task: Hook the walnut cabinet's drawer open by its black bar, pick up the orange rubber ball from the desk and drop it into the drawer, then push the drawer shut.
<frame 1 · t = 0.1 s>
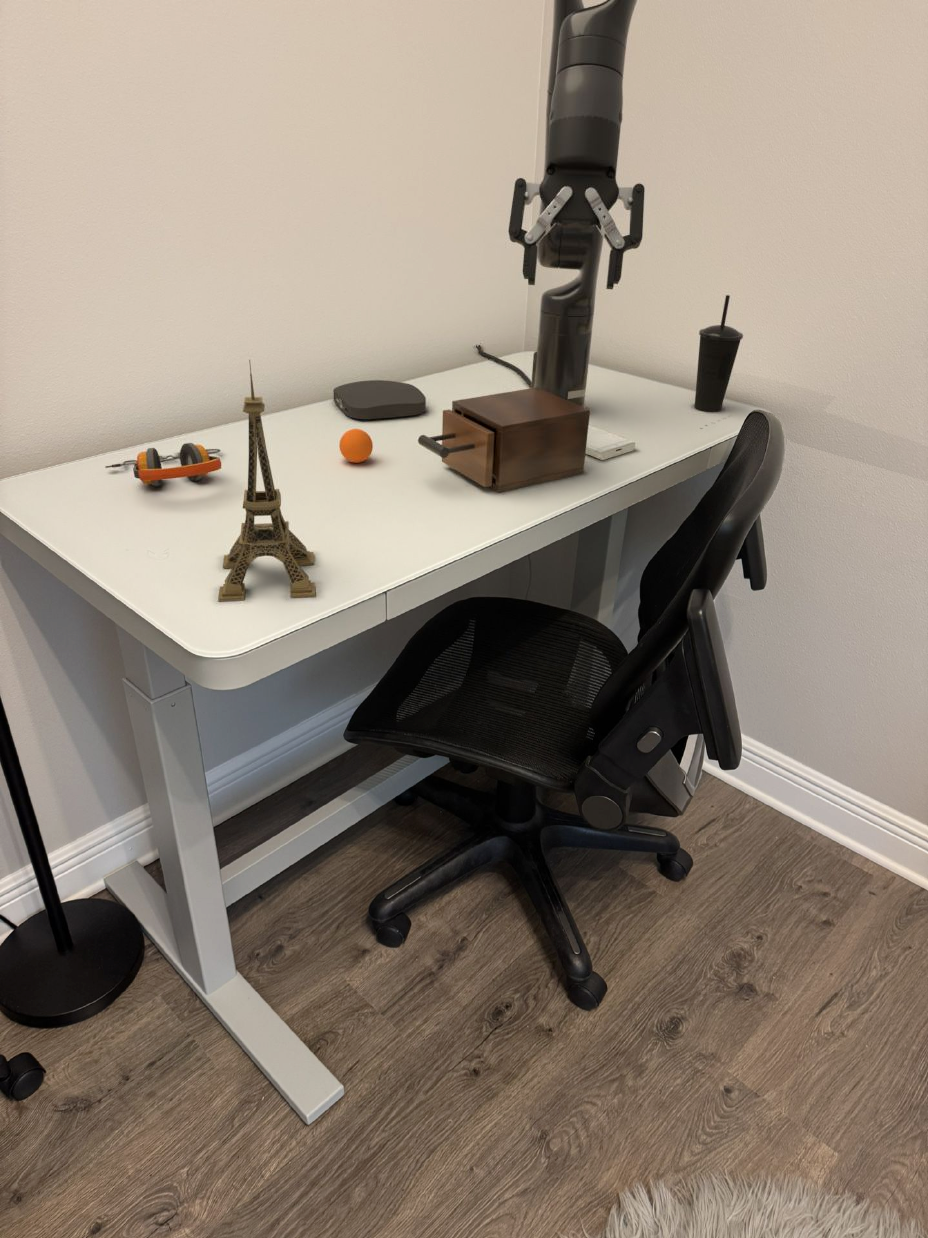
hand: (570, 285, 97), 31 cm above the table, tool tilted 20°, fingers open, 8 cm apart
cabinet: (516, 468, 136), on the table
media streaming box: (379, 407, 160), on the table
hard drive: (589, 445, 146), on the table
drinking cup: (707, 408, 166), on the table
eiffel tower: (268, 577, 104), on the table
headphones: (174, 480, 128), on the table
ball: (356, 445, 135), point 2 cm above the table
drawer: (488, 443, 131), point 5 cm above the table, slide at 0.8 cm
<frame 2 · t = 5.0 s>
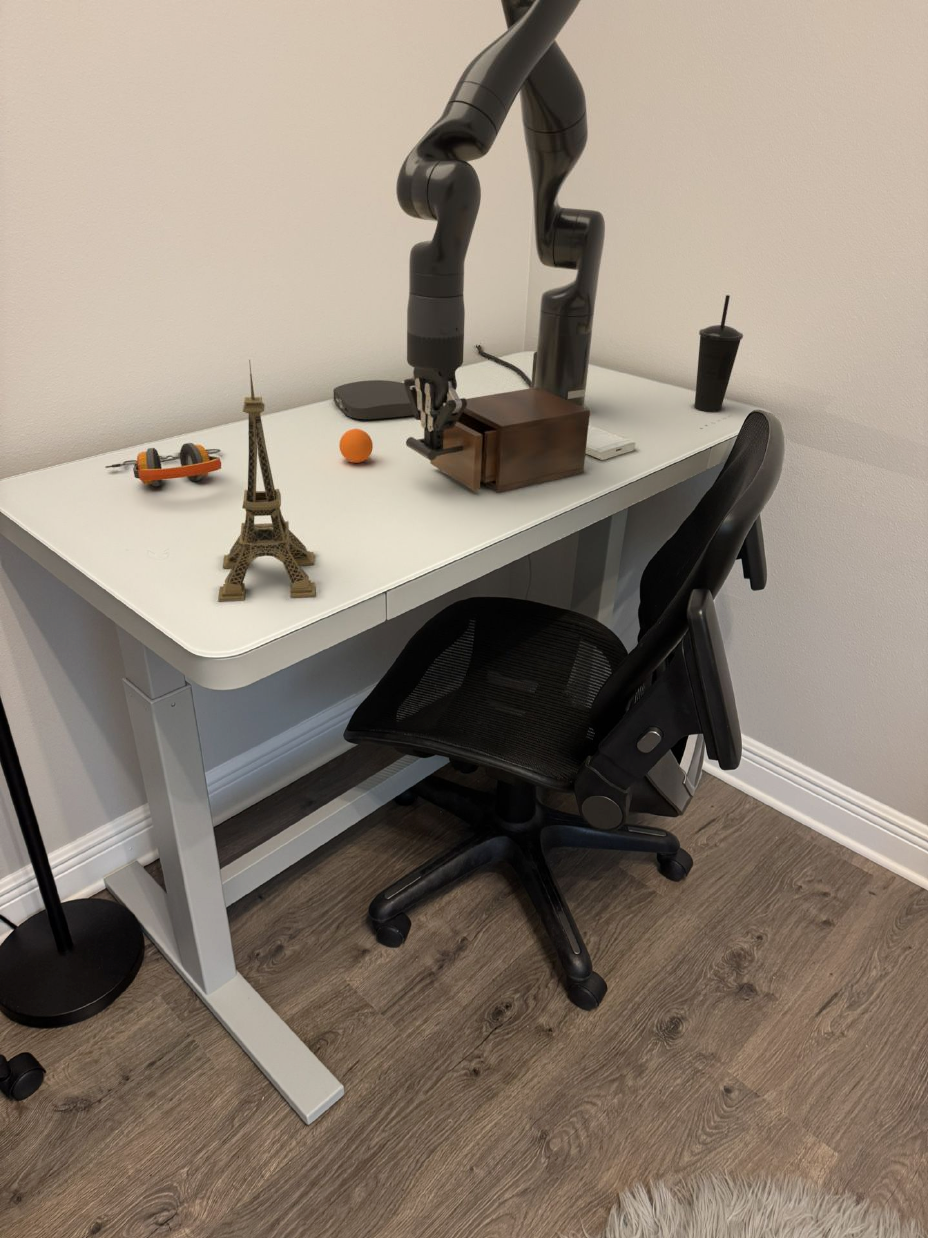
hand: (433, 454, 126), 5 cm above the table, tool pointing down, fingers closed
drawer: (477, 445, 130), point 5 cm above the table, slide at 2.8 cm, touching gripper
everything else where it was.
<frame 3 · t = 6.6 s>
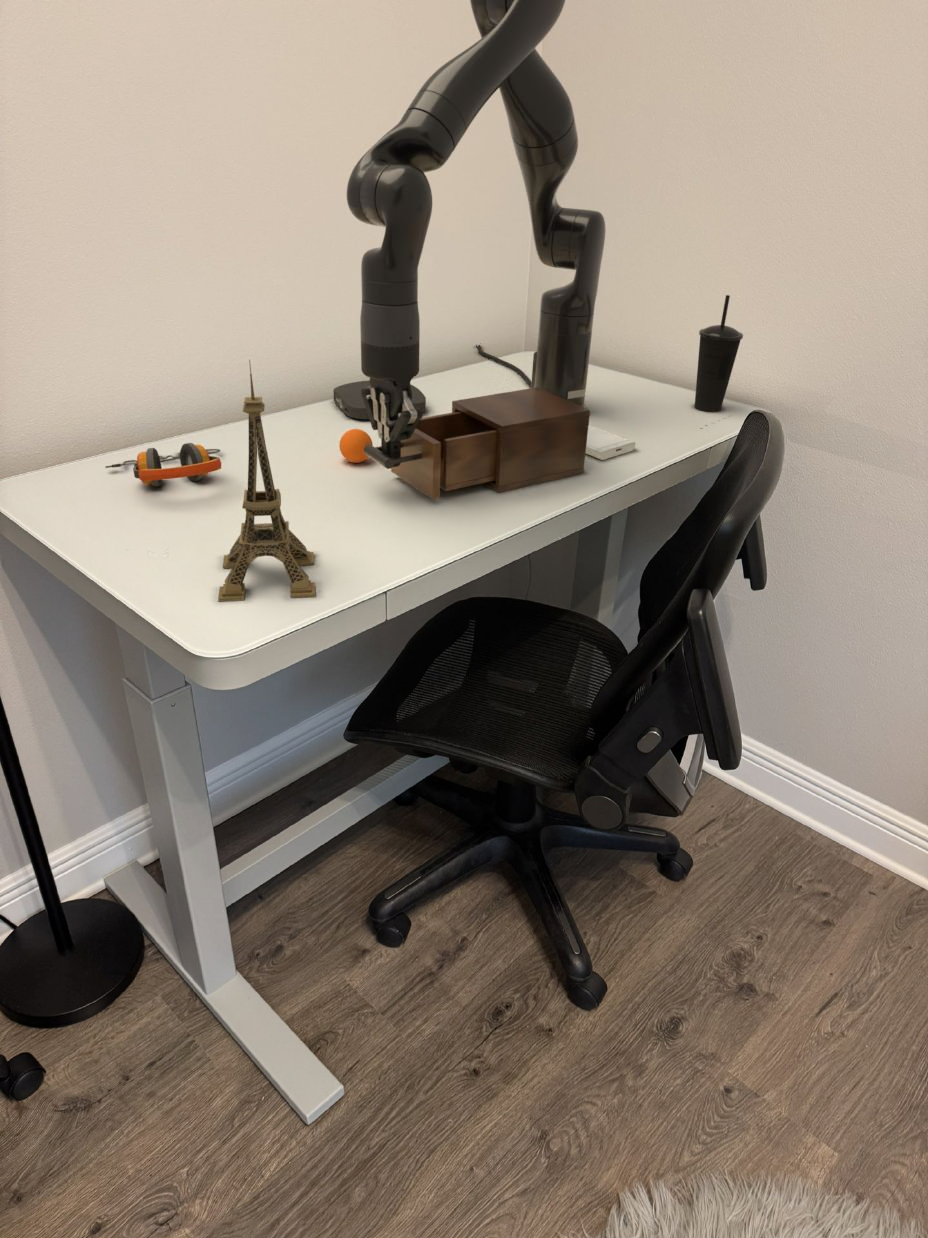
hand: (391, 465, 123), 5 cm above the table, tool pointing down, fingers closed
drawer: (437, 453, 126), point 5 cm above the table, slide at 9.5 cm, touching gripper
everything else where it was.
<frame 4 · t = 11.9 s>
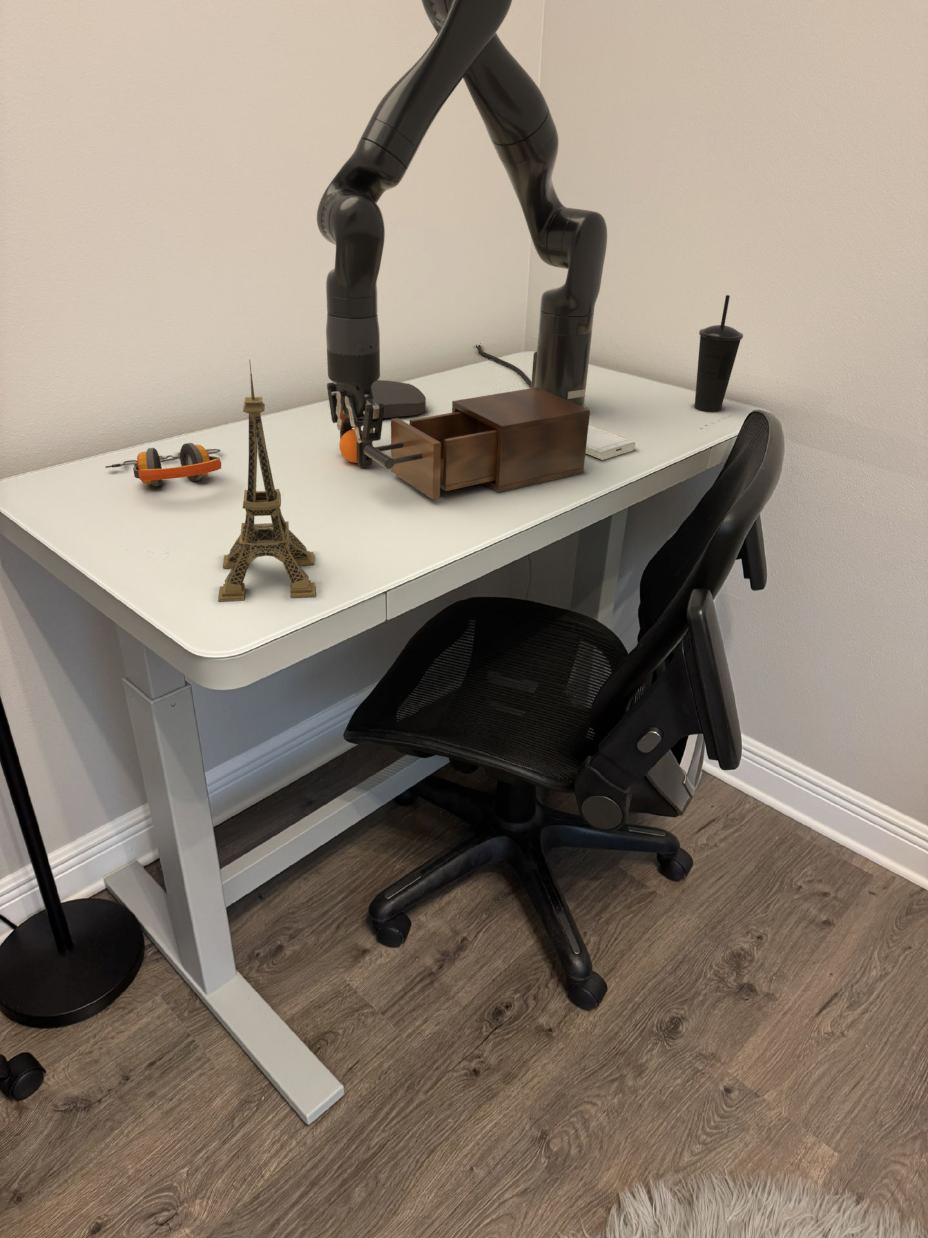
hand: (356, 458, 136), 0 cm above the table, tool pointing down, fingers closed on ball, 5 cm apart
ball: (356, 445, 135), point 2 cm above the table, touching gripper
drawer: (437, 453, 126), point 5 cm above the table, slide at 9.5 cm
everything else where it was.
when the fingers open (9 cm above the table, at t = 16.8 s): ball drops 7 cm, resting on drawer.
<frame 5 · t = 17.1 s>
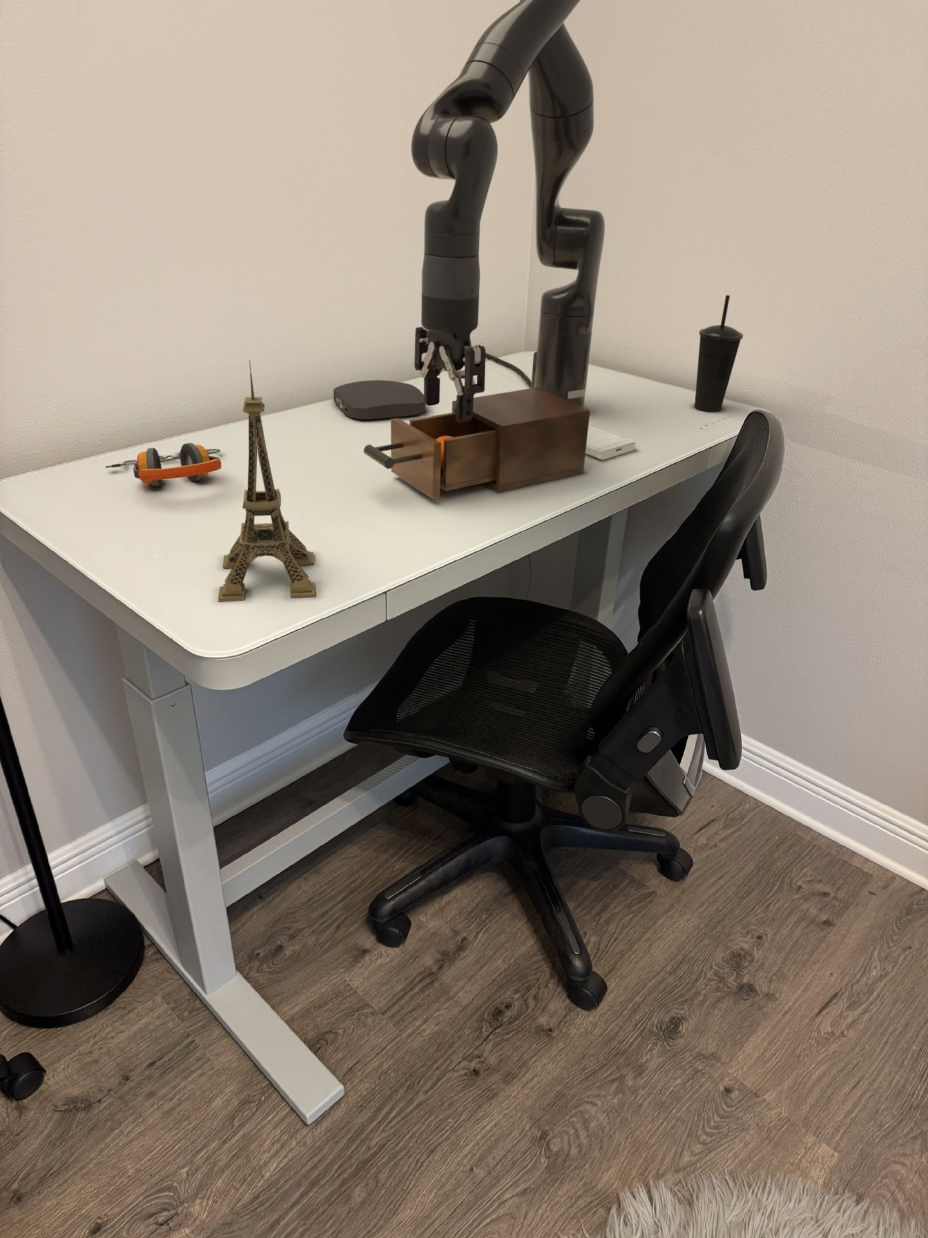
hand: (447, 412, 124), 11 cm above the table, tool pointing down, fingers open, 8 cm apart
ball: (446, 453, 127), point 5 cm above the table, touching drawer
drawer: (437, 453, 126), point 5 cm above the table, slide at 9.5 cm, touching ball
everything else where it was.
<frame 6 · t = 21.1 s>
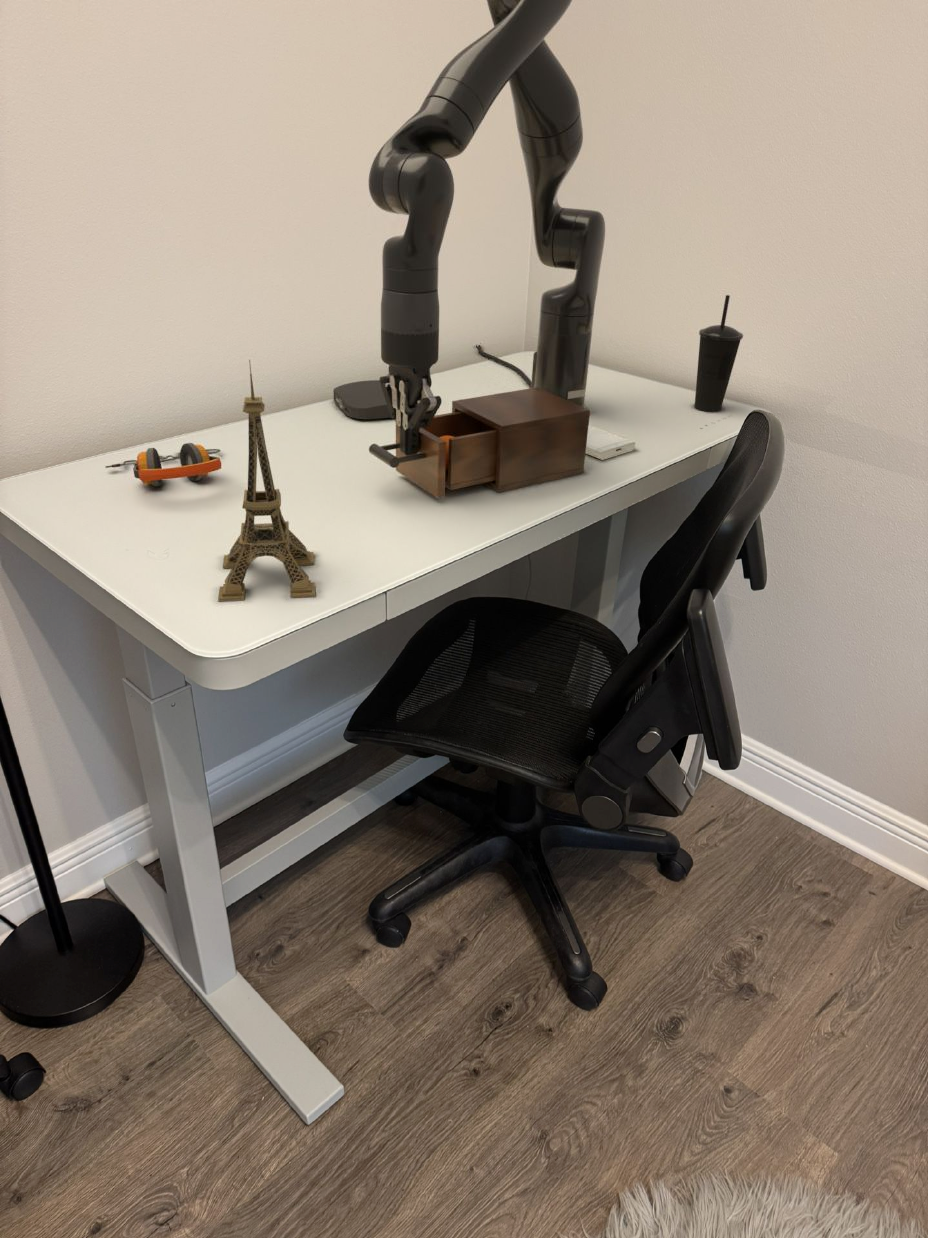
hand: (409, 452, 124), 6 cm above the table, tool pointing down, fingers closed
ball: (447, 453, 127), point 5 cm above the table, tilted 14°, touching drawer
drawer: (442, 452, 127), point 5 cm above the table, slide at 8.7 cm, touching ball, gripper
everything else where it was.
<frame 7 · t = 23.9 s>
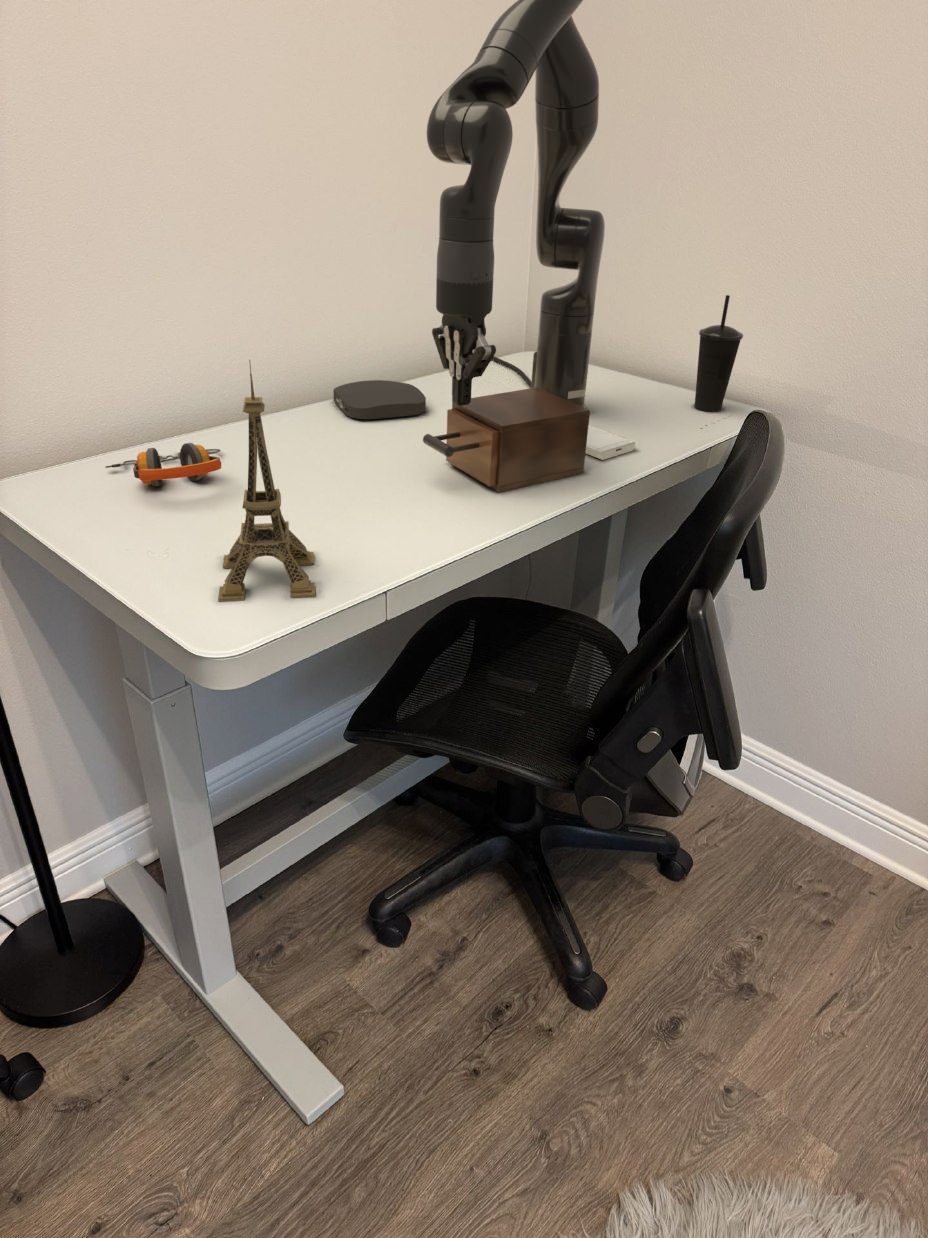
hand: (461, 403, 126), 11 cm above the table, tool pointing down, fingers closed
ball: (519, 439, 134), point 5 cm above the table, tilted 81°, touching drawer
drawer: (492, 442, 131), point 5 cm above the table, slide at 0.0 cm, touching ball, cabinet
everything else where it was.
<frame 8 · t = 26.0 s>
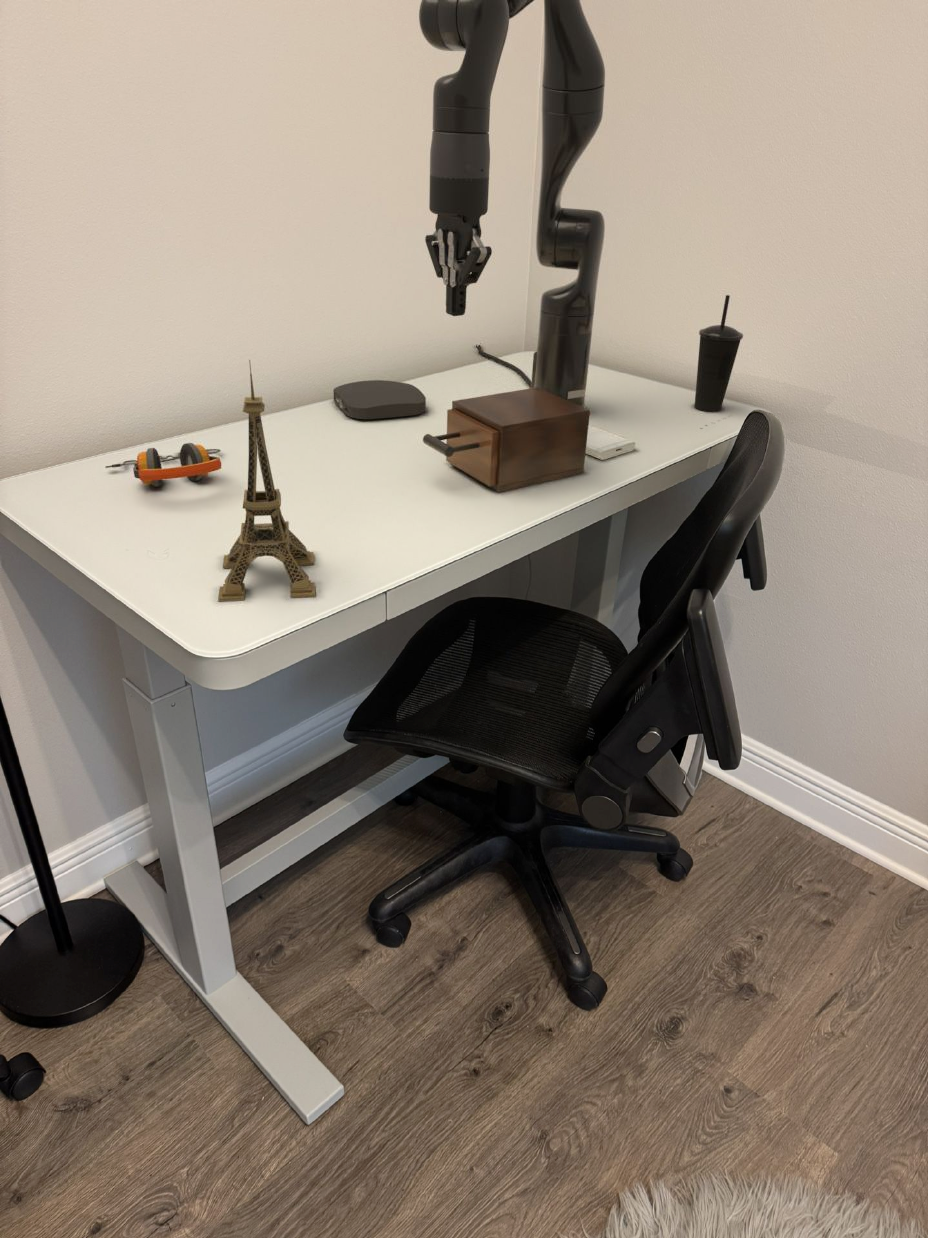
hand: (455, 314, 121), 23 cm above the table, tool pointing down, fingers closed
ball: (521, 438, 134), point 5 cm above the table, tilted 89°, touching drawer
everything else where it was.
at the end: ball inside the target area in the cabinet (0.4 cm from its centre), point 4.6 cm above the cabinet's base; drawer slide at 0.0 cm; drawer pulled out 9.5 cm at the most during the clip, back to where it started at the end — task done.
